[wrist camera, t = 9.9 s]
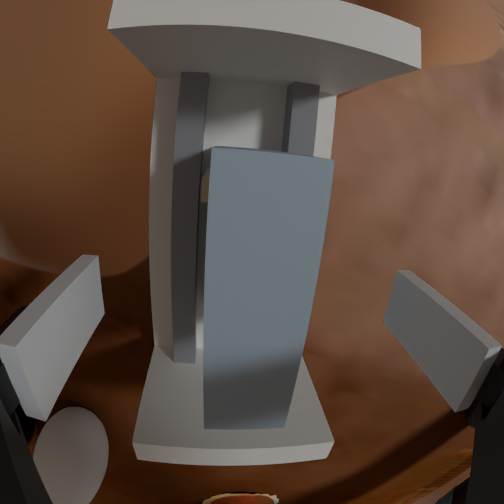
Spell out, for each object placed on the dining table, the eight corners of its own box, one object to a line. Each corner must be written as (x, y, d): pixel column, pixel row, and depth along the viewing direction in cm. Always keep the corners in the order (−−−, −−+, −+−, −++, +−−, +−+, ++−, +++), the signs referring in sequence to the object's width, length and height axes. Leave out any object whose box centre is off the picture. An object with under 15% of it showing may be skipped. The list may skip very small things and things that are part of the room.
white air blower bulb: (62, 379, 27) (4, 515, 10) (125, 412, 29) (96, 557, 12) (52, 413, 29) (8, 529, 12) (107, 441, 31) (82, 562, 14)
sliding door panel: (254, 301, 23) (284, 427, 12) (203, 299, 23) (196, 428, 12) (269, 149, 20) (334, 159, 9) (211, 145, 19) (200, 147, 8)
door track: (291, 353, 28) (326, 458, 17) (159, 350, 26) (137, 459, 15) (328, 74, 20) (420, 28, 9) (165, 58, 19) (117, -14, 7)
